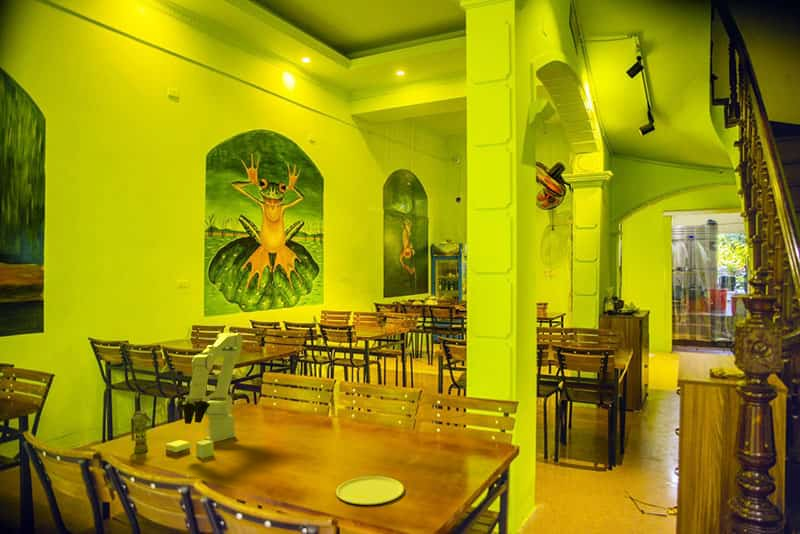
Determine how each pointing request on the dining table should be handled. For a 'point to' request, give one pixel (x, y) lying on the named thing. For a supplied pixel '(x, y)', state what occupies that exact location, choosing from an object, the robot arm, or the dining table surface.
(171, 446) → the cream slab
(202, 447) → the sage block
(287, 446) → the dining table surface
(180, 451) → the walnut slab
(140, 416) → the grenade
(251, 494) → the dining table surface
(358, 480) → the plate
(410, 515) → the dining table surface
